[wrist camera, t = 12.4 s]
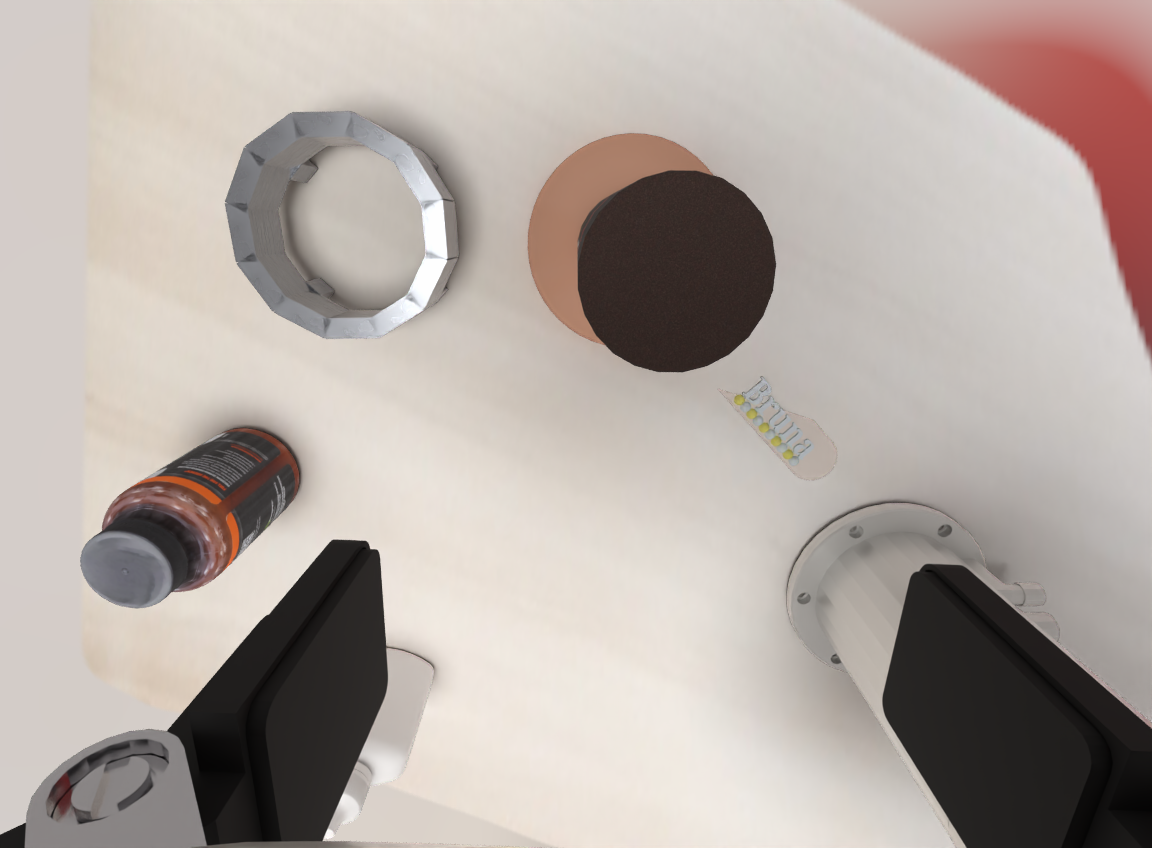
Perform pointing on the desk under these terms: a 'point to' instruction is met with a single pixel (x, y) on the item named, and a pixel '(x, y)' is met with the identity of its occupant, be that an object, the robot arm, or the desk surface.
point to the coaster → (572, 200)
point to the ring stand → (288, 159)
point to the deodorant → (675, 270)
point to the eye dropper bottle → (388, 734)
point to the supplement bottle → (190, 518)
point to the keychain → (787, 433)
